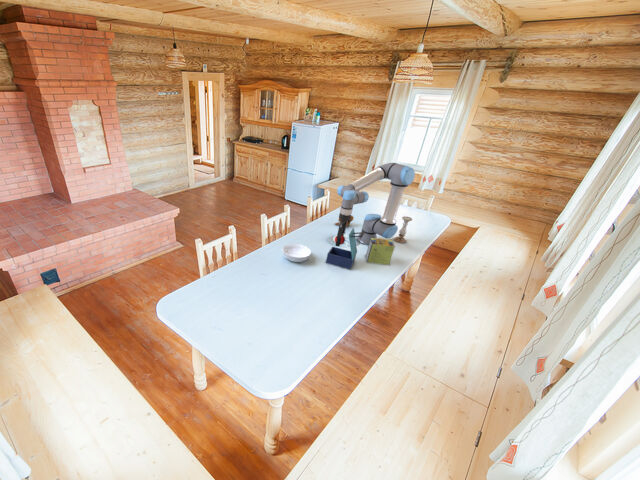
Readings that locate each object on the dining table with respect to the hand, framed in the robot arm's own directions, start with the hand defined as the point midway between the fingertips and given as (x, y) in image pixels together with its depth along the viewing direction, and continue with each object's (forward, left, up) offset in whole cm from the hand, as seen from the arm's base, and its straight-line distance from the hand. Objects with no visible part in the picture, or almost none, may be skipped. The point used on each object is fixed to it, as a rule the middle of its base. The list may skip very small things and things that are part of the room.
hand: (338, 243), depth 225 cm
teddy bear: (-68, -10, -15) cm, 70 cm away
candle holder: (-63, +38, -15) cm, 75 cm away
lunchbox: (0, +4, -14) cm, 15 cm away
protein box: (-18, +27, -15) cm, 35 cm away
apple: (0, 0, +3) cm, 3 cm away
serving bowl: (+12, -26, -15) cm, 32 cm away
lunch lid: (0, +9, +2) cm, 9 cm away
